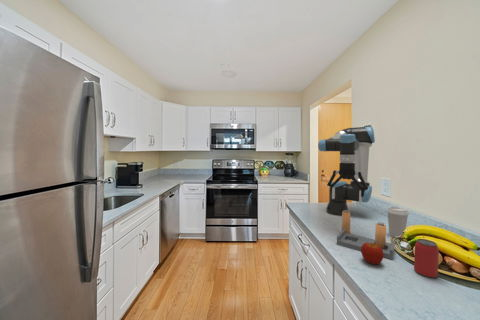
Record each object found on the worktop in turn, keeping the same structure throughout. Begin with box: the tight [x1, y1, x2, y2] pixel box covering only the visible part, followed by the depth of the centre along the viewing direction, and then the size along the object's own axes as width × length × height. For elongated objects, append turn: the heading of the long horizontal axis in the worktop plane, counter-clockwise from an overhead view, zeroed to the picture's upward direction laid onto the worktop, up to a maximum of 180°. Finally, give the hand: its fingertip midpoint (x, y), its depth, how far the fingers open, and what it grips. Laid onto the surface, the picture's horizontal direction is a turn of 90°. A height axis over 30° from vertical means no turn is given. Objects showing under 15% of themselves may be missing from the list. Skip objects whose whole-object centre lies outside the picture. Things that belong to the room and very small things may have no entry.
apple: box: [360, 243, 384, 265], centre depth 83 cm, size 8×8×8 cm
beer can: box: [413, 238, 440, 279], centre depth 76 cm, size 7×7×12 cm
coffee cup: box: [386, 206, 410, 238], centre depth 108 cm, size 10×10×15 cm
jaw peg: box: [341, 210, 351, 234], centre depth 113 cm, size 4×4×13 cm
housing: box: [336, 221, 396, 261], centre depth 97 cm, size 13×22×13 cm, turn 50°
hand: (346, 200), depth 112 cm, fingers open, 13 cm apart
